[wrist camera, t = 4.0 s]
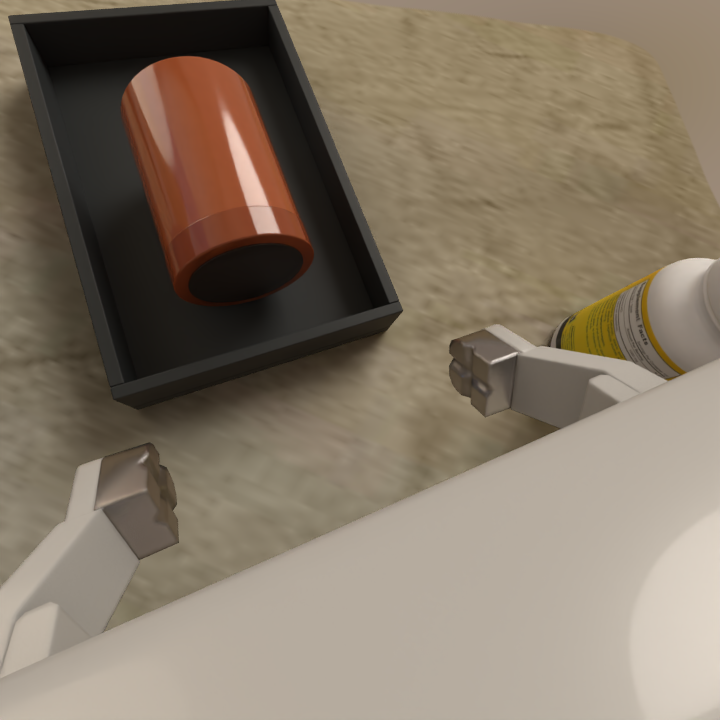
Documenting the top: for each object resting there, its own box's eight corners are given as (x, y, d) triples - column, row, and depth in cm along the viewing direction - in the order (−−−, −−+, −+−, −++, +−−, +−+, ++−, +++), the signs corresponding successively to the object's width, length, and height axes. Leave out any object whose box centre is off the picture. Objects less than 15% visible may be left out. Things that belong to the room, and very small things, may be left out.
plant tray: (387, 330, 25) (403, 310, 22) (137, 410, 21) (112, 400, 18) (274, 49, 28) (274, -4, 25) (41, 72, 24) (7, 15, 21)
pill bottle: (632, 333, 28) (844, 256, 18) (623, 418, 27) (852, 388, 16) (553, 301, 28) (724, 201, 17) (538, 386, 26) (719, 333, 15)
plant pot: (259, 152, 25) (309, 287, 23) (143, 172, 23) (189, 319, 21) (254, 46, 18) (322, 221, 17) (94, 62, 17) (155, 259, 15)
